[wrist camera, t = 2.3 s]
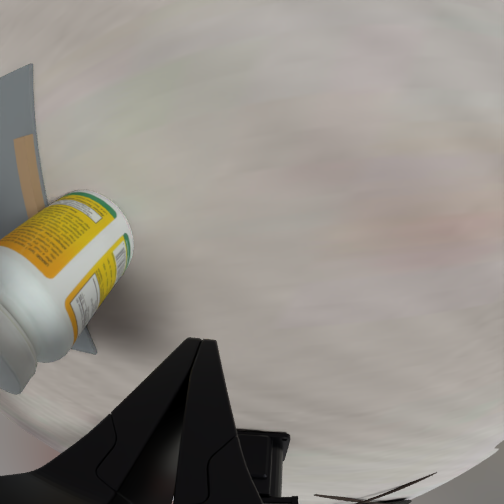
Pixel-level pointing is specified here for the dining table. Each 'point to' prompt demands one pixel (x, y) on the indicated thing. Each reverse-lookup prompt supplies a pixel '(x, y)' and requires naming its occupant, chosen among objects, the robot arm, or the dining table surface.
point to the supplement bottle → (57, 279)
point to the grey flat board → (22, 163)
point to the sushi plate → (393, 503)
